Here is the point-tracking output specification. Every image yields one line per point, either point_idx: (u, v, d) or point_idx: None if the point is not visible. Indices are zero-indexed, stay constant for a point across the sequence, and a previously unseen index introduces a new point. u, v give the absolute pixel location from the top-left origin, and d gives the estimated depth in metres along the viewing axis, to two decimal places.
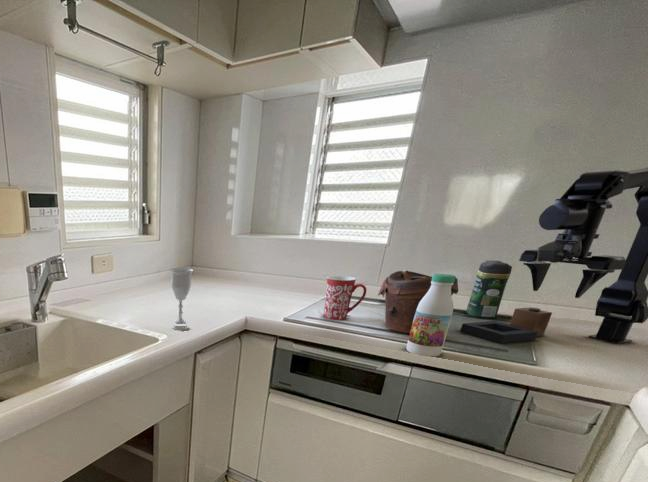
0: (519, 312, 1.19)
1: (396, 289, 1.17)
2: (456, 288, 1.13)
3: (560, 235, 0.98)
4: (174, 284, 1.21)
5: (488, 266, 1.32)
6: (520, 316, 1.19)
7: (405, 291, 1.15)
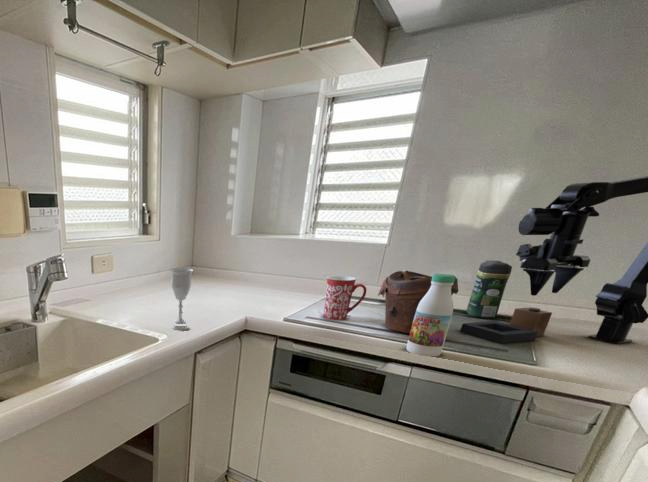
0: (519, 312, 1.19)
1: (396, 289, 1.17)
2: (456, 288, 1.13)
3: None
4: (174, 284, 1.21)
5: (488, 266, 1.32)
6: (520, 316, 1.19)
7: (405, 291, 1.15)
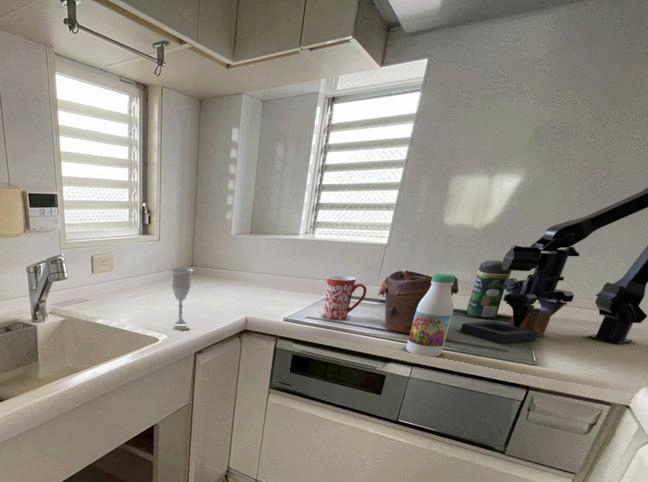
0: None
1: (396, 289, 1.17)
2: (456, 288, 1.13)
3: None
4: (174, 284, 1.21)
5: (488, 266, 1.32)
6: None
7: (405, 291, 1.15)
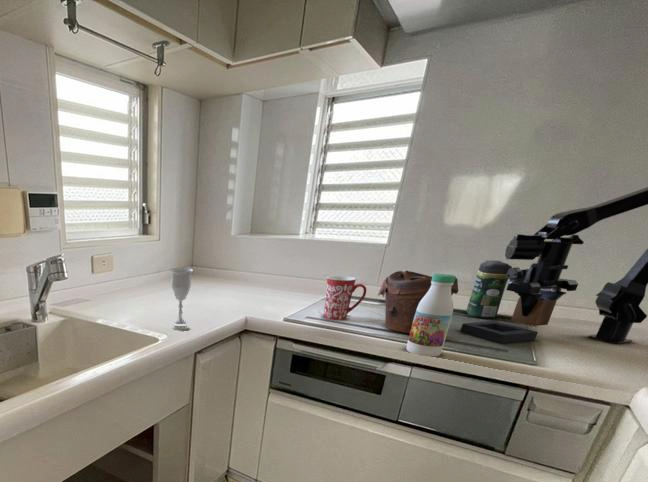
0: None
1: (396, 289, 1.17)
2: (456, 288, 1.13)
3: None
4: (174, 284, 1.21)
5: (488, 266, 1.32)
6: None
7: (405, 291, 1.15)
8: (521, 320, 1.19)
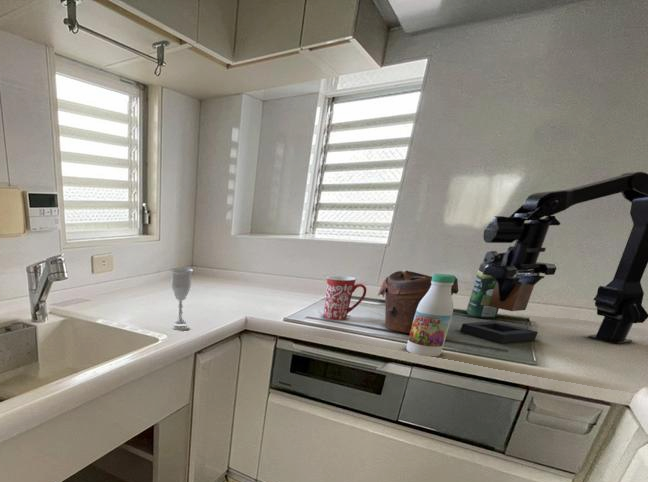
0: None
1: (396, 289, 1.17)
2: (456, 288, 1.13)
3: None
4: (174, 284, 1.21)
5: None
6: None
7: (405, 291, 1.15)
8: (499, 306, 1.15)
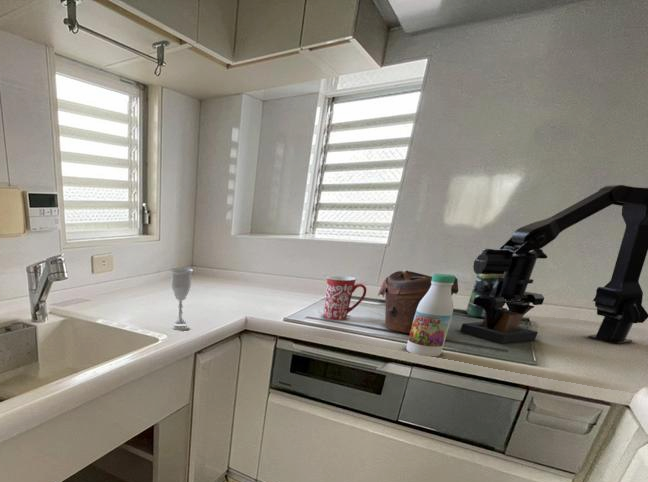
0: None
1: (396, 289, 1.17)
2: (456, 288, 1.13)
3: None
4: (174, 284, 1.21)
5: None
6: None
7: (405, 291, 1.15)
8: None
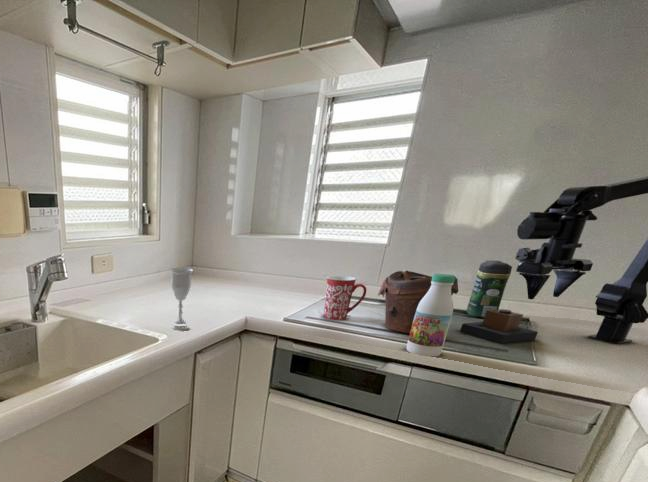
0: (490, 314, 1.17)
1: (396, 289, 1.17)
2: (456, 288, 1.13)
3: None
4: (174, 284, 1.21)
5: (488, 266, 1.32)
6: (491, 318, 1.17)
7: (405, 291, 1.15)
8: None
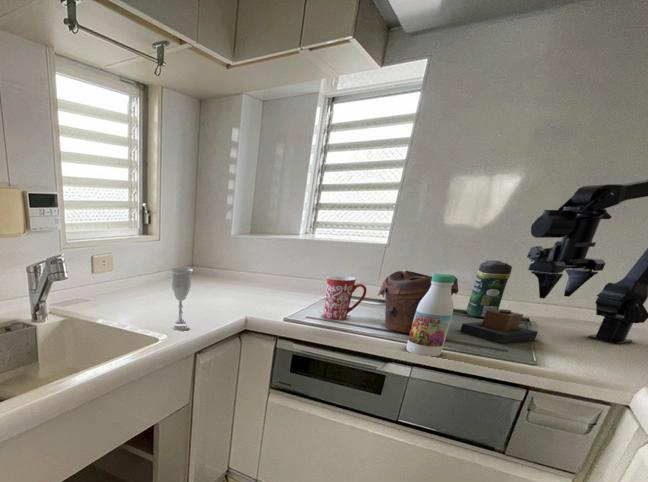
0: (490, 314, 1.17)
1: (396, 289, 1.17)
2: (456, 288, 1.13)
3: None
4: (174, 284, 1.21)
5: (488, 266, 1.32)
6: (491, 318, 1.17)
7: (405, 291, 1.15)
8: None
